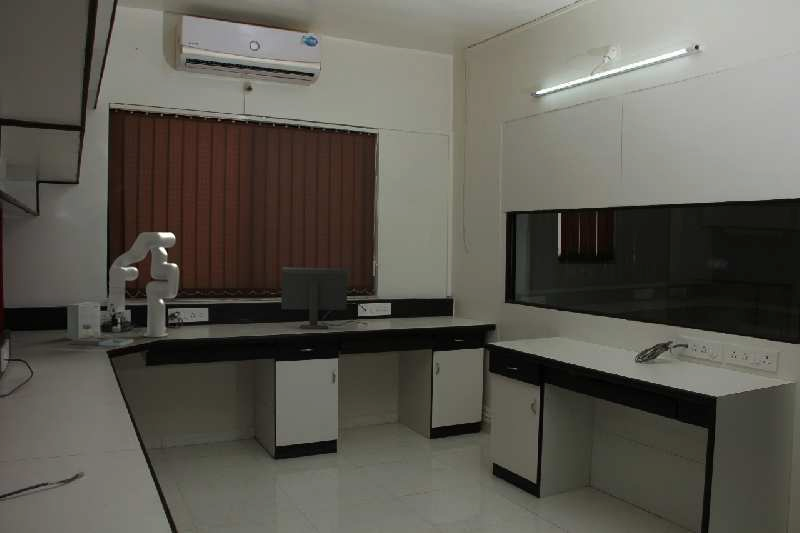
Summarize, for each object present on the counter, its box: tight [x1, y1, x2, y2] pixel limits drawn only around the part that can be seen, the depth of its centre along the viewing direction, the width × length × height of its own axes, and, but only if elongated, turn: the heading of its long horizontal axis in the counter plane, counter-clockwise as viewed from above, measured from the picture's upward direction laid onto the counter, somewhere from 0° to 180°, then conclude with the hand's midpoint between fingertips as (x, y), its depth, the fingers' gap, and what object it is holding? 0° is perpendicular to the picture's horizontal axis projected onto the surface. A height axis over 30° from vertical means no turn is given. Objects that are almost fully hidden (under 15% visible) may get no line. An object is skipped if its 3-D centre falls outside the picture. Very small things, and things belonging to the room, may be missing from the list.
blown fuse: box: [112, 313, 121, 333], centre depth 322 cm, size 4×4×9 cm
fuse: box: [83, 325, 91, 339], centre depth 326 cm, size 4×4×9 cm
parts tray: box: [98, 338, 134, 347], centre depth 323 cm, size 14×11×2 cm
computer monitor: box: [280, 266, 349, 330], centre depth 417 cm, size 44×16×40 cm, turn 94°
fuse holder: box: [70, 334, 116, 346], centre depth 326 cm, size 16×15×4 cm
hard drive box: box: [67, 301, 101, 340], centre depth 341 cm, size 16×8×20 cm, turn 160°
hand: (116, 325), depth 322 cm, fingers closed on blown fuse, 3 cm apart
